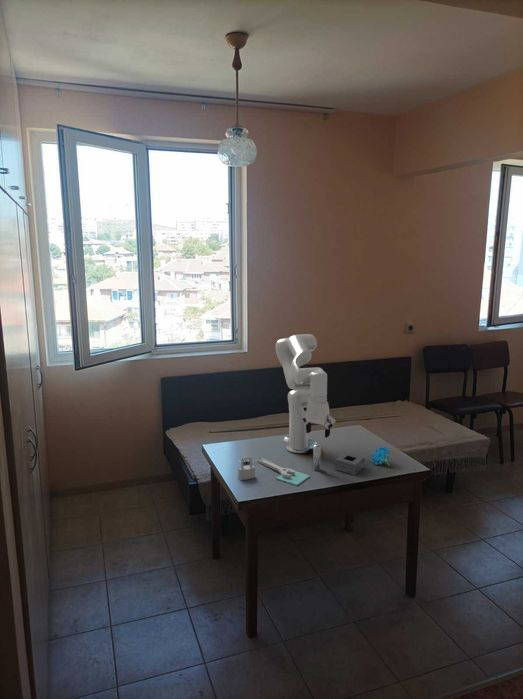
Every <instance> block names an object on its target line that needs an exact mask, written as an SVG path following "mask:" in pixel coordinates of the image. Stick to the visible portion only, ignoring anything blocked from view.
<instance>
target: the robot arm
mask: <svg viewBox="0 0 523 699" xmlns="http://www.w3.org/2000/svg"><path fill="white" fill-rule="evenodd" d="M317 345H318V342H317V339H316V337H315V336H314V335H313V334H311V333H307V334H293V335H291V336H290V337H284V338H280V339H278V340H277V341H276V343H275V353H276V356H277V359H278V361H279V363H280V365H281V366H282V369H283V374H284V377H285V381H286V385H287V386H288V389H290V391H289V392H288V393H287V402H288V411H289V414H288V415H289V417H288V418H289V426H288V428H289V429H288V430H289V433H288V435H289V437H286V436H284V438H283V443H286V445H285V450H287V452H290V453H294V454H305V453H306V452H305V451H296V450H293V449H298V450H302V449H305V448H307V447H308V444H309V442H308V440H309V435H308V434H309V433H311V432H312V424H315V425H320V426H324V427H325V429H324V437H325V438H328V437H330V436H331V428H333V427H334V425H335V423H336V422H337V421H336V419H334V417H332V416H331V415H330V407H329V406H330V405H329V401H327V400H328V374H327V372H325V371H324V369H323V368H322V367H318V366H316V367H302V366H304V365H306V364H307V363H309V362H310V361H311V359H312V356H313V355H312V352H313V351H315V350H316V349H317ZM300 367H302V368H300ZM291 389H292V390H291ZM304 408H306V410H305V409H304Z"/></svg>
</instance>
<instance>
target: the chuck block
mask: <svg viewBox="0 0 523 699" xmlns="http://www.w3.org/2000/svg"><path fill="white" fill-rule="evenodd" d="M365 459H366V457H363V456H360V455H356V454H352V453H348V452H344V453H343V454H340V456H338V457H337V458H335V460H334V461H335V462H334V464H335V466H334V467H335V468H334V469H335V470H336V471H338V472H339V471H340V472H342V473H345V474H348V475H349V474H351V475H354V476H356V475H357V474H358V473H359V472H361V471H362V470H363V469H364V468H365Z"/></svg>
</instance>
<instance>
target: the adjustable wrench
mask: <svg viewBox="0 0 523 699" xmlns="http://www.w3.org/2000/svg"><path fill="white" fill-rule="evenodd" d="M256 461H257V462H256V463H258V464H262V465H264V466H265V467H267V468H270V469H271V470H274V471H276V472H278V473H279V474H280V475H282V477H285V478H291V477H292V476H291V474H292V475H295V471H296V470H294V469H292V468H285V467H281V466H279V465H277V464H275V463H273V462H272V461H270V460H267V459H265V458H263V457H258V458H257V459H256ZM289 473H290V474H289Z"/></svg>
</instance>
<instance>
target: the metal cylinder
mask: <svg viewBox="0 0 523 699" xmlns="http://www.w3.org/2000/svg"><path fill="white" fill-rule="evenodd" d="M321 450H322V445H321V444H320V443H314V444H313V450H312V451H313V452H312V453H313V454H312V457H313V458H312V470H313V471H314V472H320V471H321V463H322V462H321V452H322V451H321Z"/></svg>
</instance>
